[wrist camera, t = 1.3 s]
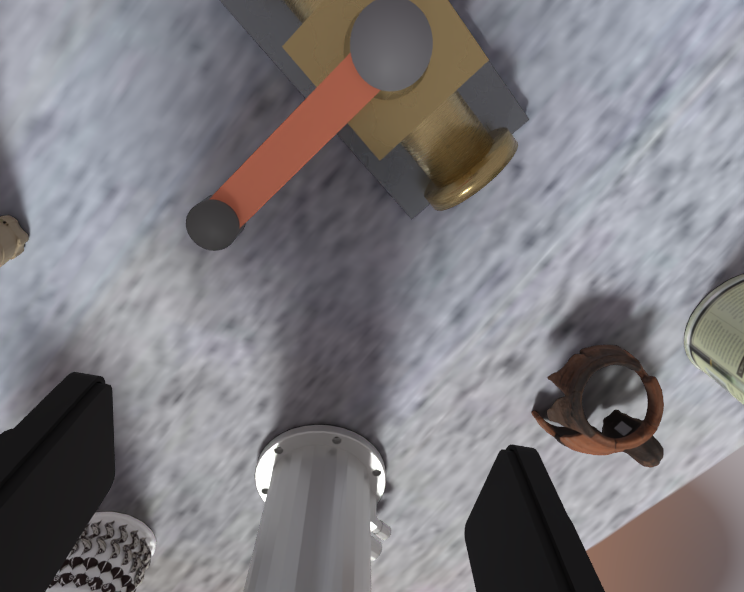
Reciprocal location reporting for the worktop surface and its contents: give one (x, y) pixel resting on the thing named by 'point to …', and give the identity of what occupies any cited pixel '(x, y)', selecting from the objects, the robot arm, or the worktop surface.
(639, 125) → the worktop surface
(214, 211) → the lever
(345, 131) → the valve
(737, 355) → the coffee can
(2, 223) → the handle
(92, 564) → the white patterned cylinder
